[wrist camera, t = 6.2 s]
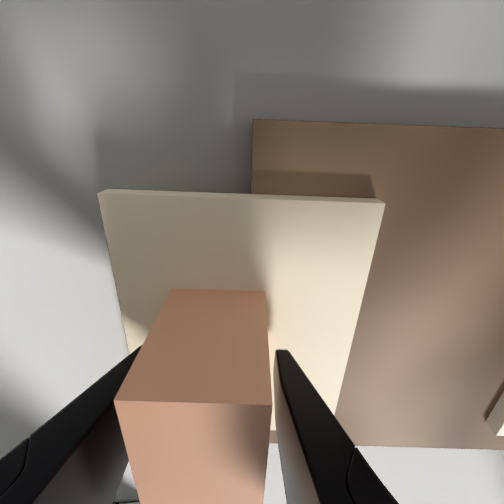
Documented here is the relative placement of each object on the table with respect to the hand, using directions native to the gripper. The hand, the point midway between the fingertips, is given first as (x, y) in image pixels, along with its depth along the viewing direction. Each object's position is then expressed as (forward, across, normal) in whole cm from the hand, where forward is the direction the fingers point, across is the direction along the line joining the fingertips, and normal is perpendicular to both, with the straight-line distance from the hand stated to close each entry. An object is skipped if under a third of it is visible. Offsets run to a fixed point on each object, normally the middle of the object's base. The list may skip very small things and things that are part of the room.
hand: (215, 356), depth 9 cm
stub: (+1, -1, 0) cm, 2 cm away
